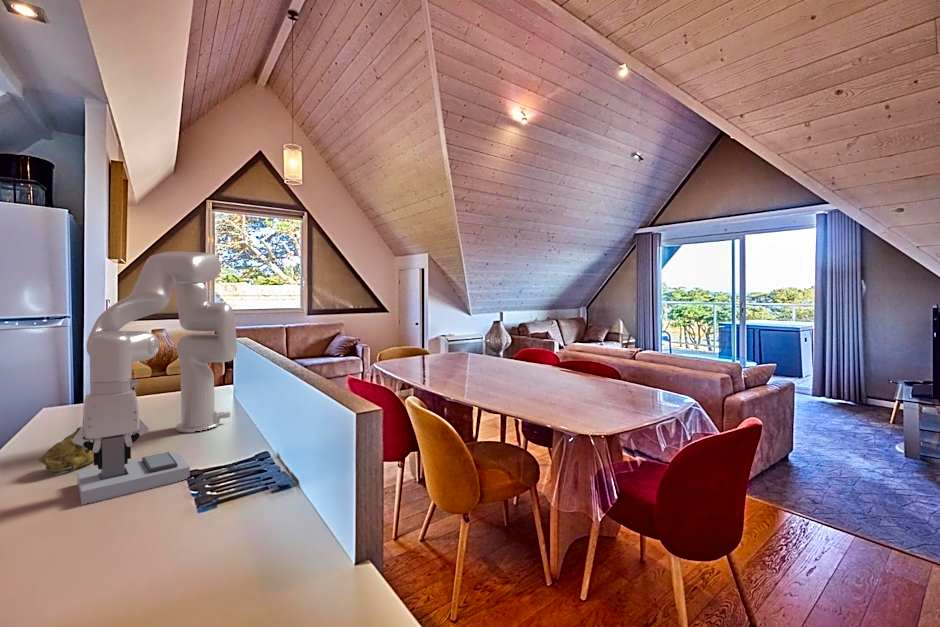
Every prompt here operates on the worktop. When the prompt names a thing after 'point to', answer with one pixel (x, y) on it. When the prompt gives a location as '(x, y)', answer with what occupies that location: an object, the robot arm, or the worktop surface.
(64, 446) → the animal skull
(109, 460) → the block
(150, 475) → the dock board
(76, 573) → the worktop surface
